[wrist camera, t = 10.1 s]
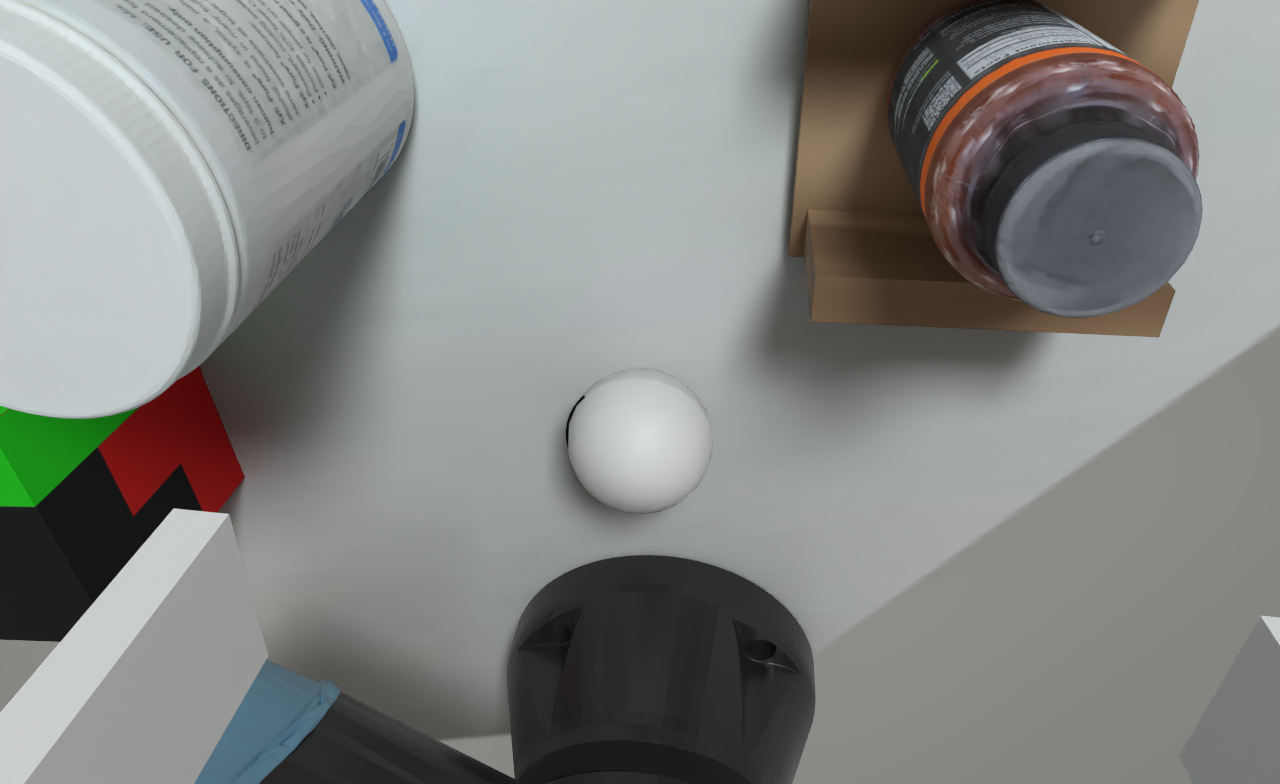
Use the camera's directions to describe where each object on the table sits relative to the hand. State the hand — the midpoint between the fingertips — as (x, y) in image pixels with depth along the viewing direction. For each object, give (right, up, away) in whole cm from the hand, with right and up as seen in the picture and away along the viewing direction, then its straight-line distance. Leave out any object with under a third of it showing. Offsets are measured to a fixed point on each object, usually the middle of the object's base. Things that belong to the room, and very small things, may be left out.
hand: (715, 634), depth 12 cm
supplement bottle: (+10, +13, +16) cm, 23 cm away
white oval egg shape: (-1, +2, +25) cm, 25 cm away
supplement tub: (-13, +15, +19) cm, 27 cm away
